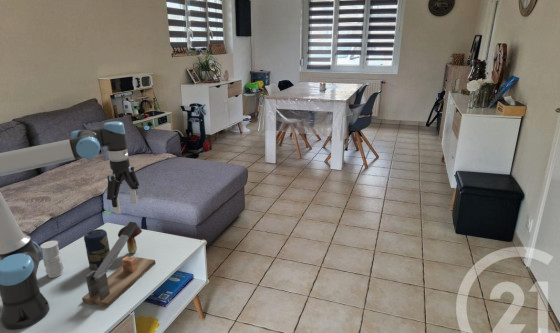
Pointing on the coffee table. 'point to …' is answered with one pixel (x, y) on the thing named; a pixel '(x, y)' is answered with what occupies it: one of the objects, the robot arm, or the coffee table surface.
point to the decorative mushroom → (131, 239)
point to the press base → (116, 281)
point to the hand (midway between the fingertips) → (126, 208)
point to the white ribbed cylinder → (52, 259)
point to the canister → (96, 247)
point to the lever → (115, 250)
